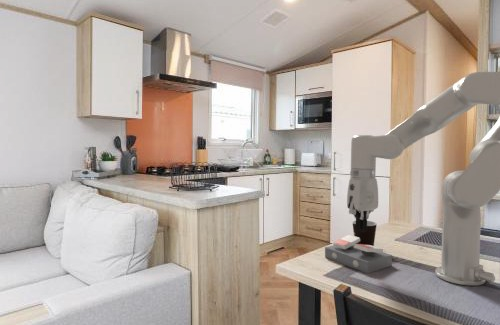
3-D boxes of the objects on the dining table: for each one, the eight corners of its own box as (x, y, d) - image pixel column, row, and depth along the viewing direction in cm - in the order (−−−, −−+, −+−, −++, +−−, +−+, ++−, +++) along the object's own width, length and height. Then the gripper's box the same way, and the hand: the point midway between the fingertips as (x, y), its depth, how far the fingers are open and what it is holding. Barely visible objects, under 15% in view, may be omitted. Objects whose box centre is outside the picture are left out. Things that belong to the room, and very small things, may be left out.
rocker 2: (382, 252, 111) (383, 248, 111) (366, 251, 107) (367, 247, 107) (369, 248, 115) (370, 244, 115) (354, 247, 111) (354, 243, 111)
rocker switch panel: (391, 265, 111) (391, 252, 111) (367, 273, 104) (367, 259, 104) (348, 251, 126) (348, 239, 126) (324, 257, 119) (324, 244, 119)
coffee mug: (372, 254, 122) (372, 226, 121) (348, 250, 127) (349, 223, 127) (381, 246, 131) (382, 220, 131) (359, 242, 137) (359, 218, 136)
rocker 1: (360, 241, 119) (359, 237, 118) (344, 249, 115) (344, 245, 114) (349, 237, 123) (348, 234, 123) (333, 245, 119) (333, 242, 118)
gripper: (356, 176, 101) (354, 237, 102) (387, 174, 109) (385, 230, 110) (337, 174, 107) (335, 231, 108) (368, 172, 115) (366, 225, 116)
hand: (361, 230), depth 109 cm, fingers closed
